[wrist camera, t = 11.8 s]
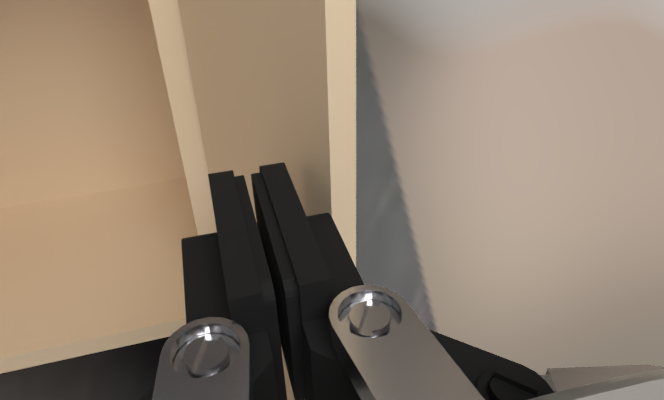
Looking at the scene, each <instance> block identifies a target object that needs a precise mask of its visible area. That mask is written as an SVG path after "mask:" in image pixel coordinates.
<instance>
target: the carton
mask: <svg viewBox="0 0 664 400" xmlns="http://www.w3.org/2000/svg"><path fill="white" fill-rule="evenodd" d="M208 174H209V170H208V164H207V159H206V153H205V148H204V142H203V137H202V131H201V126H200V120H199V115H198V109H197V104H196V98H195V93H194V87H193V82H192V76H191V71H190V65H189V59H188V54H187V48H186V43H185V37H184V32H183V26H182V21H181V15H180V10H179V4H178V0H0V374H1V373H5V372H10V371H15V370H19V369H24V368H28V367H33V366H37V365H42V364H46V363H51V362H56V361H60V360H65V359H69V358H74V357H78V356H83V355H87V354H92V353H96V352H101V351H106V350H110V349H115V348H119V347H124V346H128V345H133V344H137V343H142V342H147V341H151V340H156V339H160V338H165V337H169V336H171V335H172V333H174V332H175V331H176V330H178V329H179V328H180V327H182V326H183V325H185V324H186V311H185V294H184V278H183V262H182V246H181V240H182V238H187V237H193V236H199V235H204V234H210V233H215V232H217V229H216V223H215V216H214V210H213V203H212V197H211V191H210V184H209V178H208Z"/></svg>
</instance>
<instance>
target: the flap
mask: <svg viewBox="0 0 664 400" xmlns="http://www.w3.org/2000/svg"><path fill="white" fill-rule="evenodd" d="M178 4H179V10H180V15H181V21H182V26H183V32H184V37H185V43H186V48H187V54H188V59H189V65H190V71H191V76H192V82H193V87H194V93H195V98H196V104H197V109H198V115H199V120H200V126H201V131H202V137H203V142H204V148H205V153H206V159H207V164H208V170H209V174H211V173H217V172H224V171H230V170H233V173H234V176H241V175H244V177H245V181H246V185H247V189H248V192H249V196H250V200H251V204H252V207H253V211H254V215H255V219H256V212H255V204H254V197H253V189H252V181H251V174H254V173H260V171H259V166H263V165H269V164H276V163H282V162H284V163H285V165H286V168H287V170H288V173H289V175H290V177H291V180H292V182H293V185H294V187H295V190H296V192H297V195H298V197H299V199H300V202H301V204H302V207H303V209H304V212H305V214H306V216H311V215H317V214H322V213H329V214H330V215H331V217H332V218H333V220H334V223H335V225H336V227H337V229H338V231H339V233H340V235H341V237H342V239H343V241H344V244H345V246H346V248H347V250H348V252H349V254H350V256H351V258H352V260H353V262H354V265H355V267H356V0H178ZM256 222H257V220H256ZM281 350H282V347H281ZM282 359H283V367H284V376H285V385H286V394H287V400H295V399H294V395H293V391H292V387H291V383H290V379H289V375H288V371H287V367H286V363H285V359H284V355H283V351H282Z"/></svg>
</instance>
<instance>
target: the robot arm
mask: <svg viewBox="0 0 664 400" xmlns="http://www.w3.org/2000/svg"><path fill="white" fill-rule="evenodd" d="M259 171H260V173H254V174H251V181H252V189H253V197H254V204H255V212H256V219H255V215H254V211H253V207H252V204H251V200H250V196H249V192H248V189H247V185H246V181H245V177H244V175H241V176H234V173H233V170H230V171H224V172H217V173H211V174H208V178H209V184H210V191H211V197H212V203H213V210H214V216H215V223H216V229H217V232H215V233H210V234H204V235H199V236H193V237H187V238H182V240H181V246H182V262H183V278H184V294H185V311H186V324H185V325H183V326H182V327H180V328H179V329H178V330H176V331H175V332H174V333H172V335H171V336H170V337H169V338H168V340H167V341H166V342H165V343H164V346H163V349H162V351H161V354H160V359H159V364H158V369H157V375H156V380H155V385H154V386H153V387H152V388H151V389H150V390H149V391H148V392H147V393H146V394H145V395H144V396H143V397H142V398H141V399H140V400H287V394H286V385H285V376H284V367H283V359H282V351H283V355H284V359H285V363H286V367H287V371H288V375H289V379H290V383H291V387H292V391H293V395H294V399H295V400H664V367H661V366H651V365H632V366H631V365H630V366H603V367H576V368H552V369H550V368H549V369H547V372H546V375H538V374H537V373H536V372H535V371H533V370H531V369H529V368H527V367H525V366H523V365H521V364H518V363H515V362H513V361H510V360H508V359H505V358H502V357H499V356H497V355H494V354H492V353H489V352H486V351H484V350H481V349H479V348H476V347H473V346H471V345H468V344H465V343H463V342H460V341H458V340H455V339H452V338H450V337H447V336H444V335H442V334H439V333H437V332H434V331H431V330H429V329H428V328H427V326H426V325H425V324H424V323H423V321H422V320H421V319H420V318H419V316H418V315H417V314H416V313H415V311H414V310H413V309H412V308H411V306H410V305H409V304H408V302H407V301H406V300H405V299H404V298H403V297H402V296H401V295H399V294H398V293H397V292H395V291H393V290H391V289H389V288H387V287H382V286H378V285H364V283H363V281H362V279H361V277H360V275H359V273H358V271H357V269H356V267H355V265H354V262H353V260H352V258H351V256H350V254H349V252H348V250H347V248H346V246H345V244H344V241H343V239H342V237H341V235H340V233H339V231H338V229H337V227H336V225H335V223H334V220H333V218H332V217H331V215H330V214H329V213H322V214H317V215H311V216H306V214H305V212H304V209H303V207H302V204H301V202H300V199H299V197H298V195H297V192H296V190H295V187H294V185H293V182H292V180H291V177H290V175H289V173H288V170H287V168H286V165H285V163H284V162H282V163H276V164H269V165H263V166H259ZM256 220H257V222H256ZM281 347H282V350H281Z"/></svg>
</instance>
